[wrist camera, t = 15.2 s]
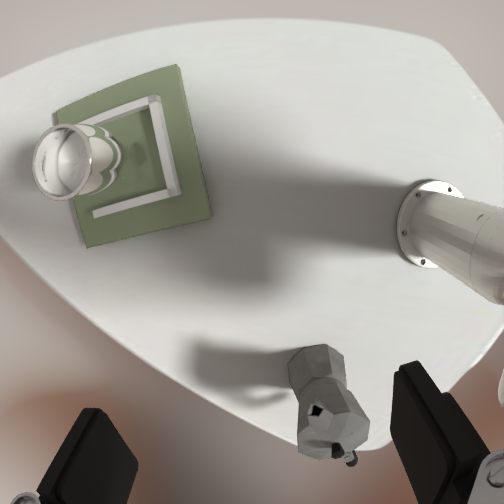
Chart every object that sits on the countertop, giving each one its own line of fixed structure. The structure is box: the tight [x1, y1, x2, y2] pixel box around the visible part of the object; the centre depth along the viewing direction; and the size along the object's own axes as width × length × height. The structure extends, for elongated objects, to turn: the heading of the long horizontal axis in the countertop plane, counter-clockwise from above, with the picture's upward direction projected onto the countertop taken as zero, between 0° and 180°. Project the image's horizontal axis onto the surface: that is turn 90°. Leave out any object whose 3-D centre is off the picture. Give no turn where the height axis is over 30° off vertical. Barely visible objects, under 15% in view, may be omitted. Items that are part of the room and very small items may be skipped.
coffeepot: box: [288, 345, 370, 467], centre depth 38 cm, size 15×9×18 cm, turn 30°
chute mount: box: [56, 64, 212, 248], centre depth 37 cm, size 18×20×4 cm
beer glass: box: [32, 124, 147, 201], centre depth 29 cm, size 7×7×15 cm
